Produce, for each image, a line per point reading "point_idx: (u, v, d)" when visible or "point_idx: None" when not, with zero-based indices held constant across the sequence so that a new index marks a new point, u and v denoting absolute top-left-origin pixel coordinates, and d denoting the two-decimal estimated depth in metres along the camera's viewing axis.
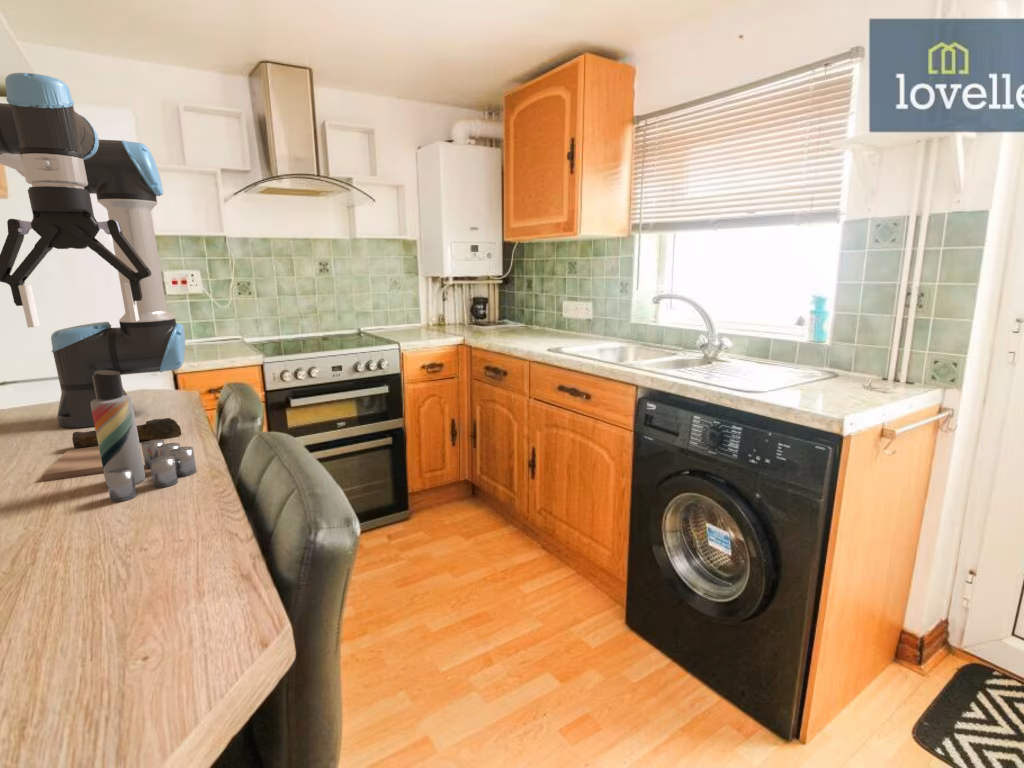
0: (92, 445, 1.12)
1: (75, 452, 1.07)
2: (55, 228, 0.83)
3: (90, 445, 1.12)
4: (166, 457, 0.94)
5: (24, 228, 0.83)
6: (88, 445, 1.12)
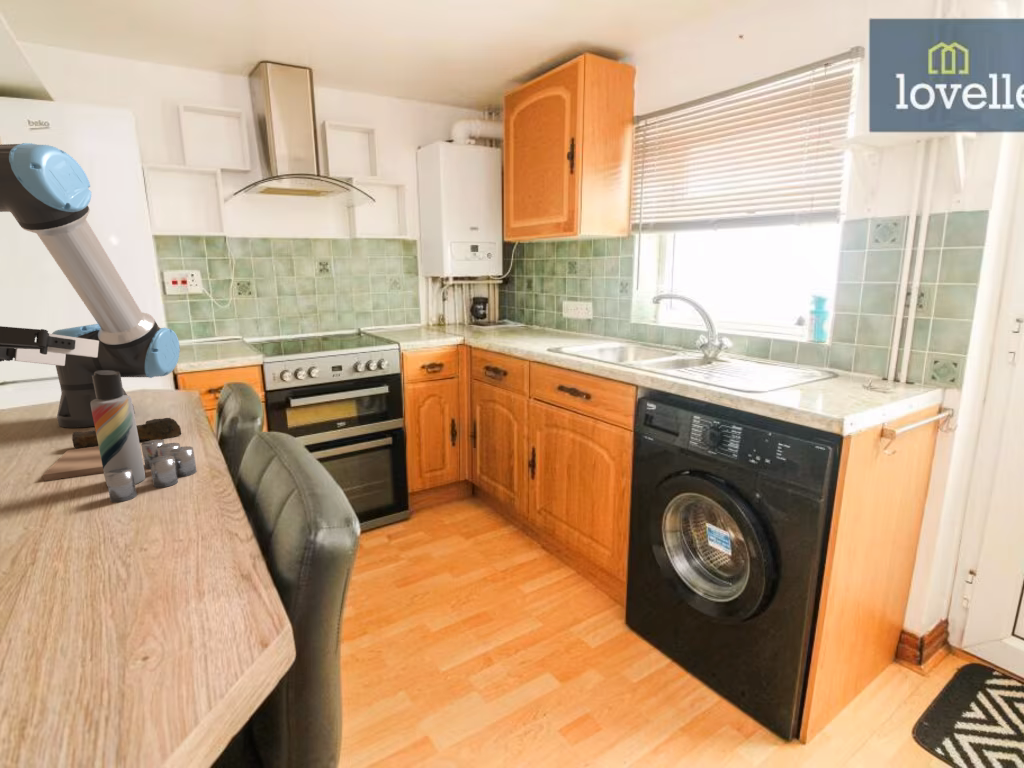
0: (92, 445, 1.12)
1: (75, 452, 1.07)
2: None
3: (90, 445, 1.12)
4: (166, 457, 0.94)
5: None
6: (88, 445, 1.12)
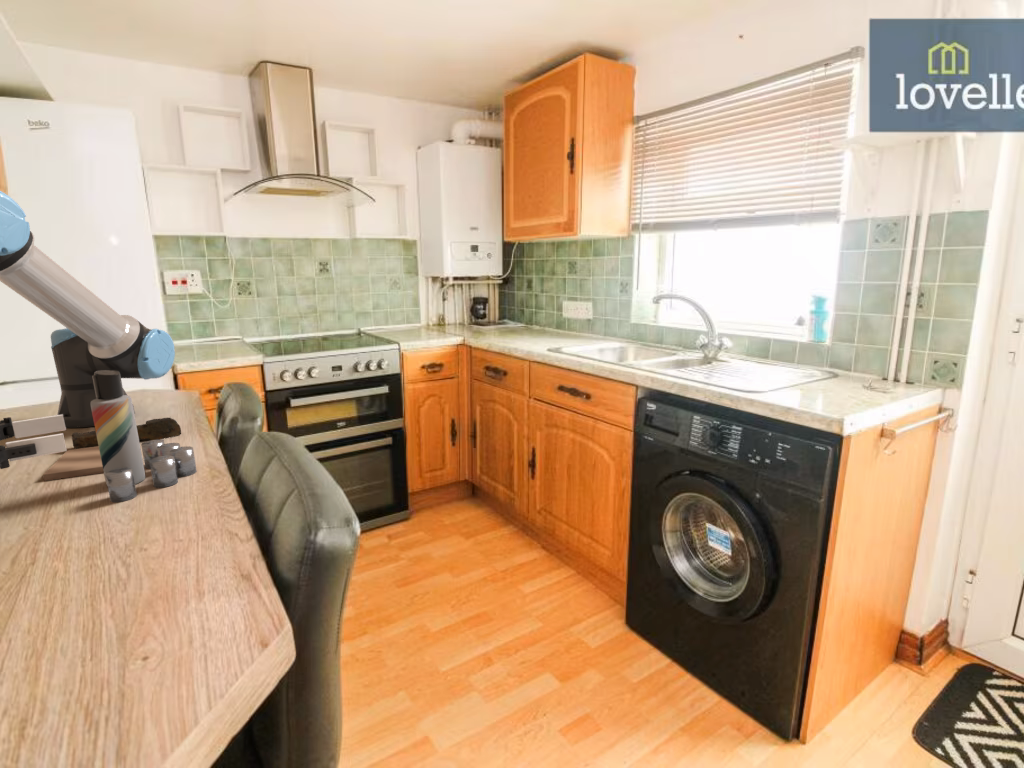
0: (92, 445, 1.12)
1: (75, 452, 1.07)
2: None
3: (90, 445, 1.12)
4: (166, 457, 0.94)
5: None
6: (88, 446, 1.12)
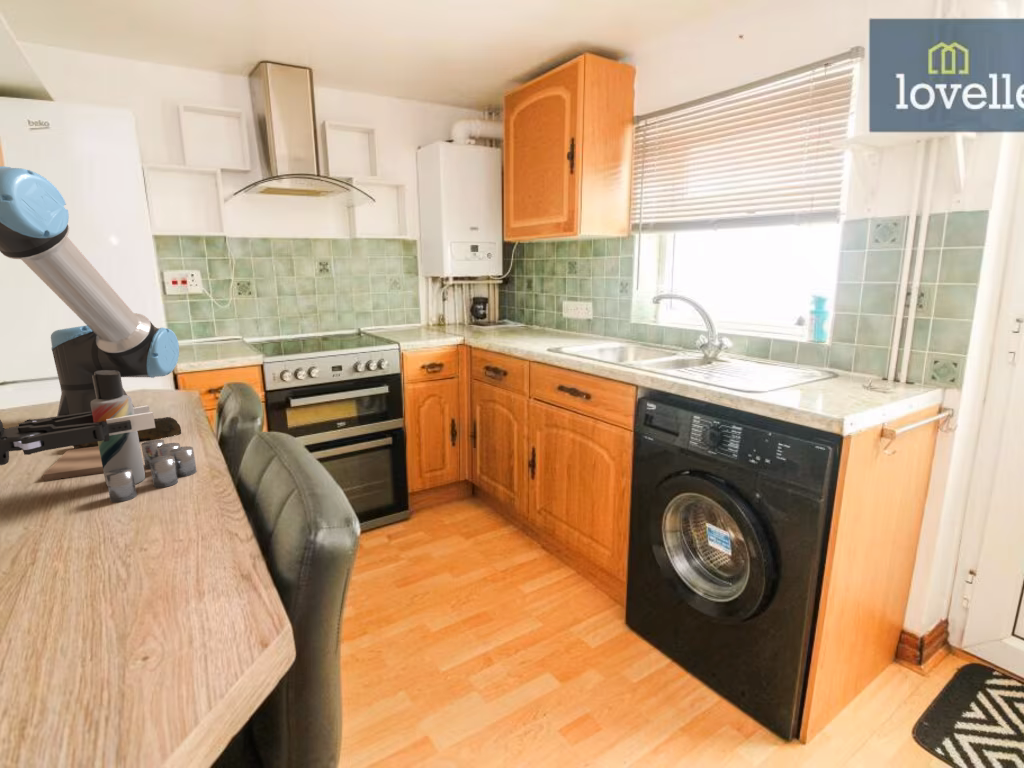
0: (92, 445, 1.12)
1: (75, 452, 1.07)
2: None
3: (90, 446, 1.12)
4: (166, 457, 0.94)
5: None
6: (88, 446, 1.12)
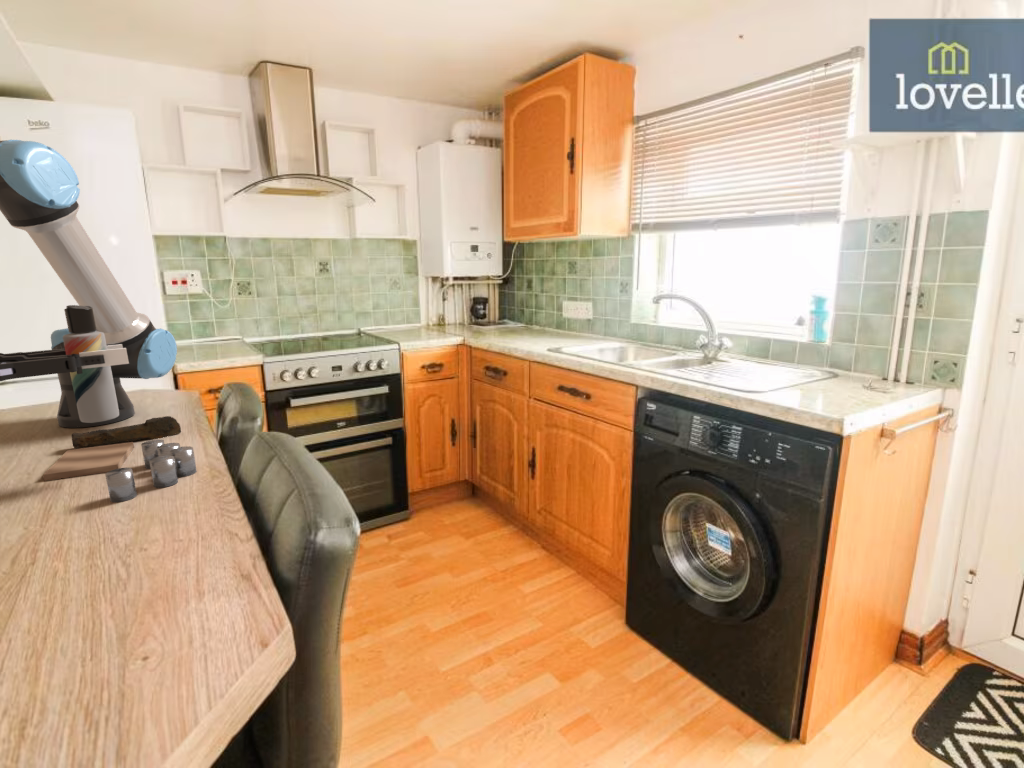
0: (92, 445, 1.12)
1: (75, 452, 1.07)
2: None
3: (90, 445, 1.12)
4: (166, 457, 0.94)
5: None
6: (88, 445, 1.12)
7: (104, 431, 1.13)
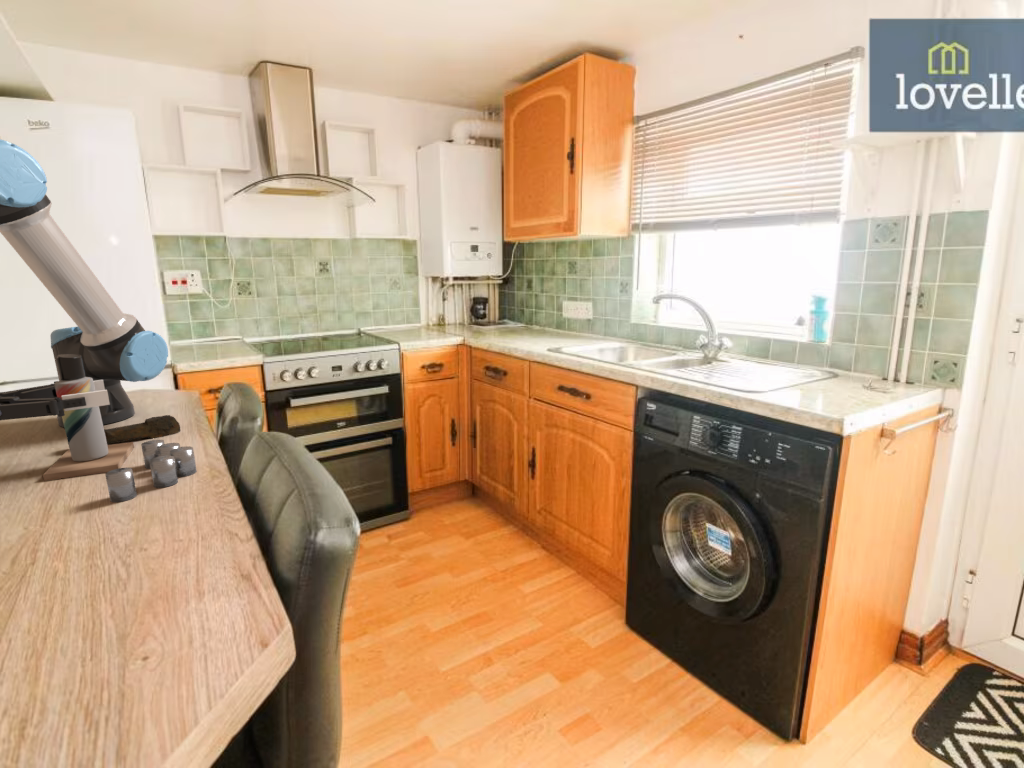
0: None
1: None
2: None
3: None
4: (166, 457, 0.94)
5: None
6: None
7: (104, 431, 1.13)
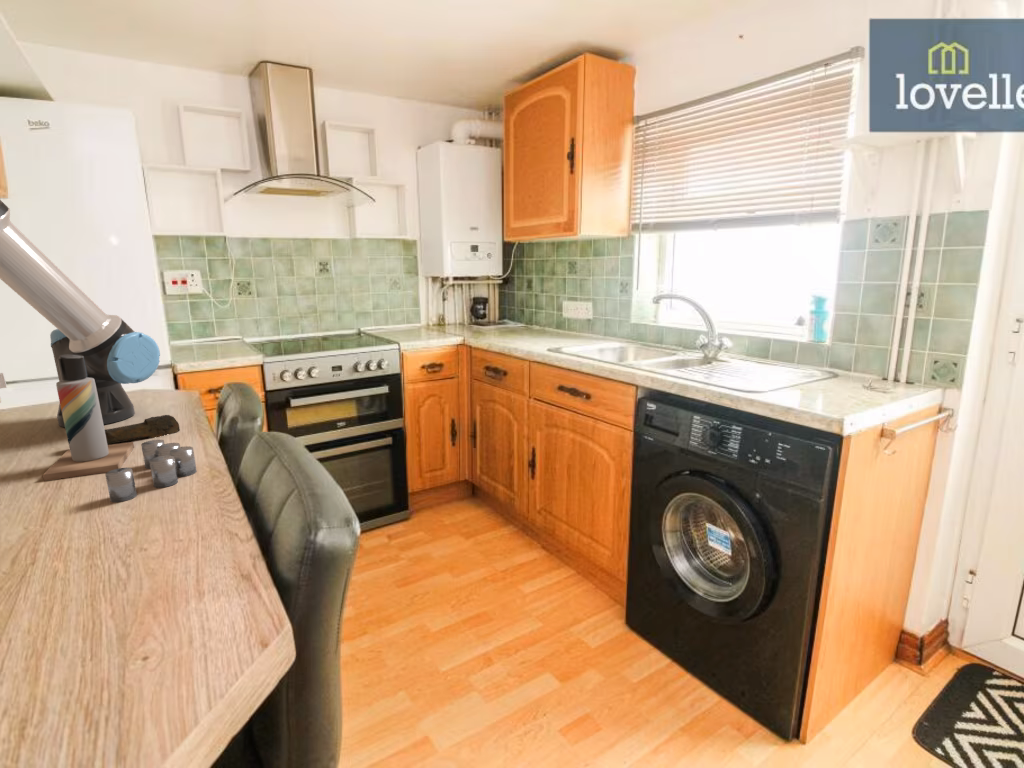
0: None
1: None
2: None
3: None
4: (166, 457, 0.94)
5: None
6: None
7: None
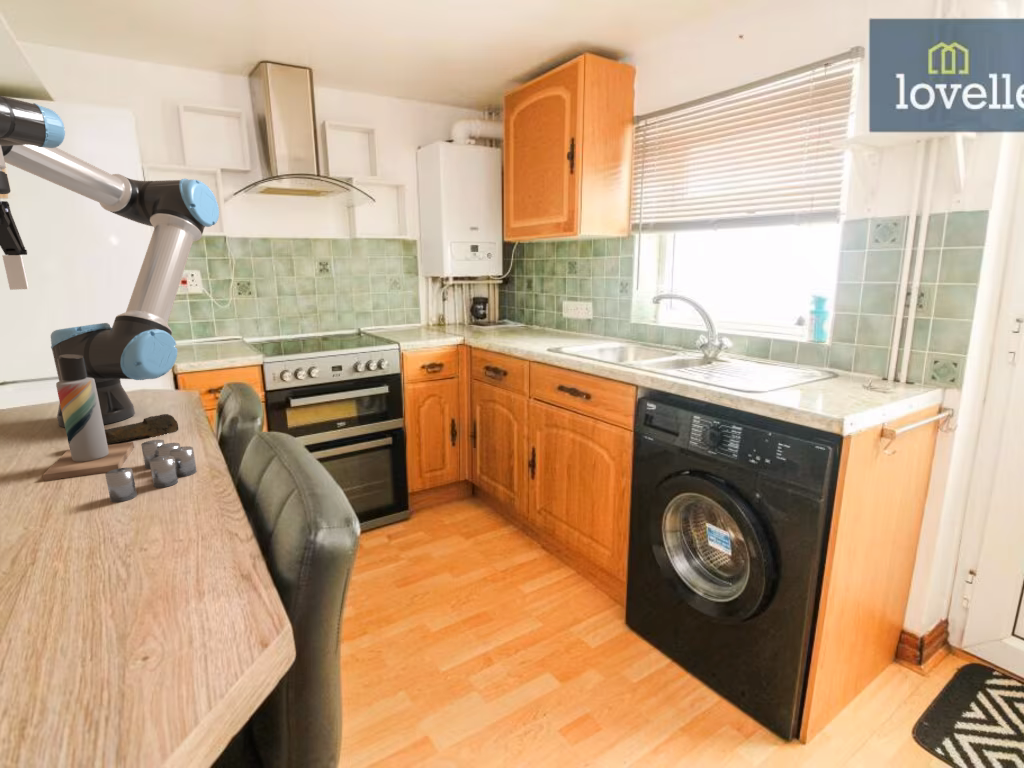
0: None
1: None
2: None
3: None
4: (166, 457, 0.94)
5: None
6: None
7: None
